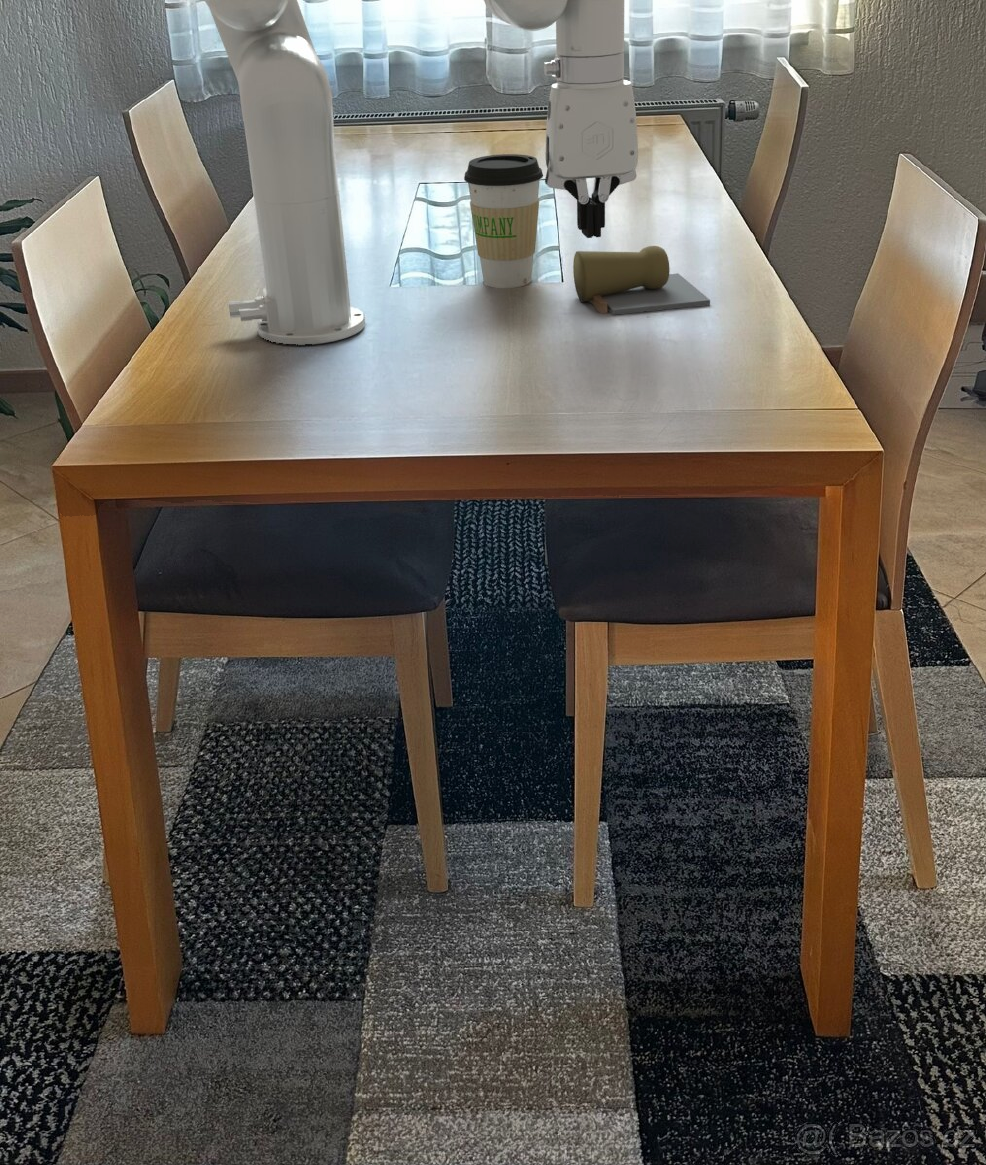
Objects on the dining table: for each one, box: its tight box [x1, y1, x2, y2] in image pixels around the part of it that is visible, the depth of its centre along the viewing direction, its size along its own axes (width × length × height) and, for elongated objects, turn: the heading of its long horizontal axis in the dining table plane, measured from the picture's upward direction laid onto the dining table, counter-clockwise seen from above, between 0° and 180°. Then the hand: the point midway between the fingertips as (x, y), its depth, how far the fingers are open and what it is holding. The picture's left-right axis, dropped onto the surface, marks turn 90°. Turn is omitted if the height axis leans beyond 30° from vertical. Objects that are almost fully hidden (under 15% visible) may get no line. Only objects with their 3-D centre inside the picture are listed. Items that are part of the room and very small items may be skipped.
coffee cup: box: [463, 153, 544, 289], centre depth 162 cm, size 10×10×15 cm
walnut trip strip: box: [588, 295, 608, 314], centre depth 157 cm, size 1×10×1 cm, turn 11°
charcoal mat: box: [602, 272, 711, 316], centre depth 158 cm, size 12×12×1 cm
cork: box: [572, 245, 671, 303], centre depth 157 cm, size 6×6×11 cm
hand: (591, 234), depth 153 cm, fingers closed
